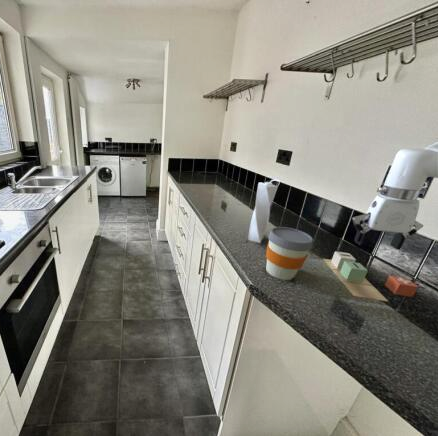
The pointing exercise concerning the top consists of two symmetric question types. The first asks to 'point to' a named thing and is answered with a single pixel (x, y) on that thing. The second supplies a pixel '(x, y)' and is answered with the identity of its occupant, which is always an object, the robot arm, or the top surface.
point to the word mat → (357, 285)
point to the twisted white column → (262, 210)
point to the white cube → (341, 259)
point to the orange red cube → (401, 286)
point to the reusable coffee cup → (287, 252)
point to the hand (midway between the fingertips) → (376, 245)
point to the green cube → (353, 271)
